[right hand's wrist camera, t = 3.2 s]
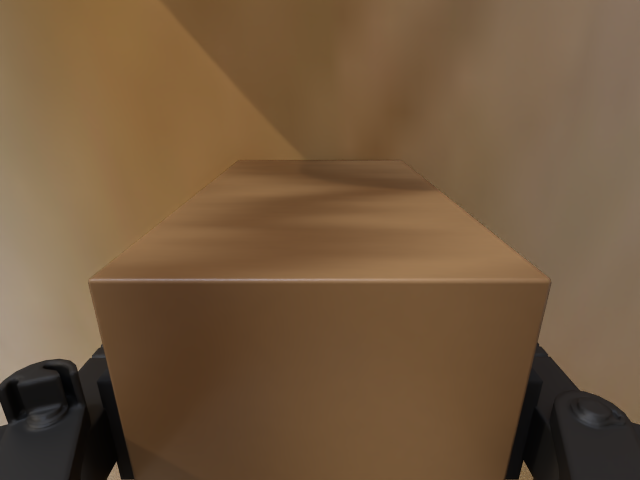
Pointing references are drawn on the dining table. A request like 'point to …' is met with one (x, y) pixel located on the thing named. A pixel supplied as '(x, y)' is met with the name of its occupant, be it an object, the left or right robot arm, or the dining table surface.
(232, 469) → the brick
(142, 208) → the dining table surface
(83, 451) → the right robot arm
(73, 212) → the dining table surface
